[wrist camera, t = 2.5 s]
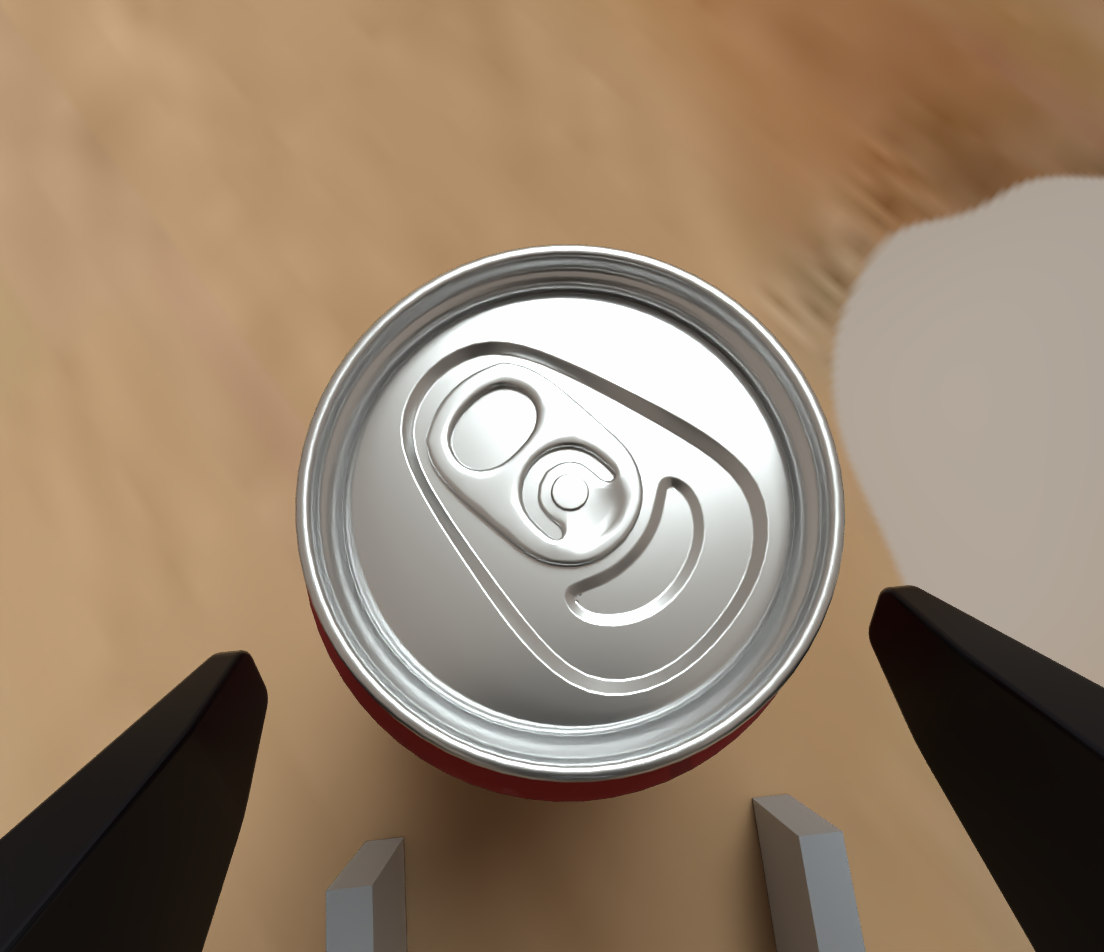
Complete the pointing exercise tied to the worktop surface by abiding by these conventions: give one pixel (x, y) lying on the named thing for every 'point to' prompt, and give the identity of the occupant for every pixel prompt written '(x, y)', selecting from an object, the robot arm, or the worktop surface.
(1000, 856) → the robot arm
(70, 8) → the worktop surface
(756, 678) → the soda can
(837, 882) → the gray bracket
